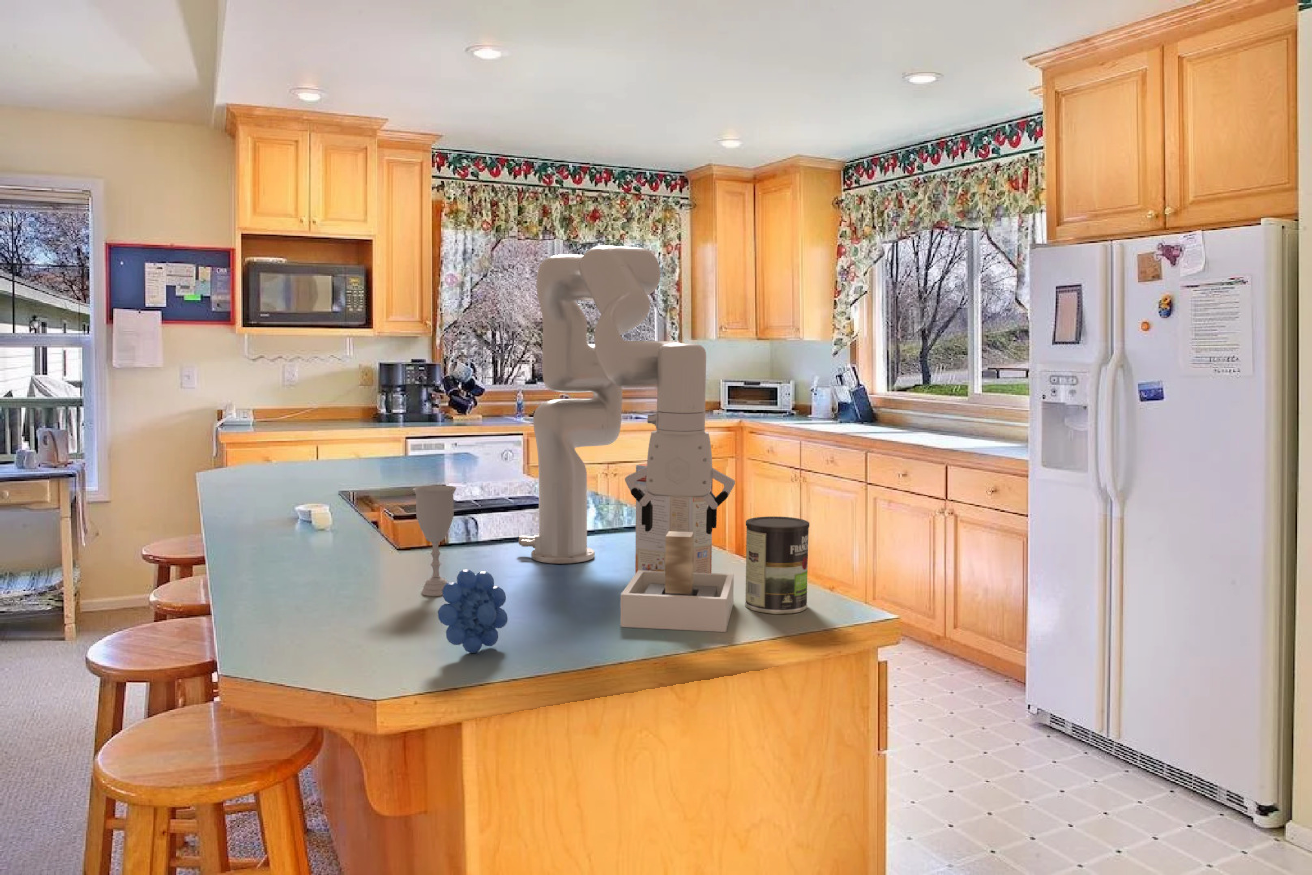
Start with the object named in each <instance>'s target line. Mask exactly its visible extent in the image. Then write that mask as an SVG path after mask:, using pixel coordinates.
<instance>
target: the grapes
mask: <svg viewBox="0 0 1312 875" xmlns="http://www.w3.org/2000/svg"><path fill="white" fill-rule="evenodd" d="M442 593H443V595H442V597H443V600H444V601H445V602H447V603H444V604H442V605H440V607H439V609H438V611H437V616H438V618H437V619H438V621H440V624H443V625H444V626H447V627H446V628H447V629H446V630H445V635H446V636H445V637H446V640H447V641H448V643H450V644H451V645H454V646H460V645H462V647H463V649H464V650H465V651H466V652H468V653H469V654H476V653H478V652H479V651H480V650H481V648H482V646H486V647H493V646H494V645H496V644H497V642H498V640H499V631H498V630H497V629H502V628H504V627H505V626H506V624H508V613H507V612H506V611H505V609H504V608H501V607H502V606H503V605H504V604H505V603H506V601H507V597H506V596H507V595H506V592H505V591H504V589H503V588H501V587H500V586H497V585H496V586H495V579H494V577H493V576H492V574H491V573H490V572H487V571H485V570H481V571H479V572H477V573H476V574H475V572H474V571H472V570H470V569H466V568H465V569H462V570H460V571H459V573H458V574H457V576H456V582H455V581H454V582H453V581H451V582H450V581H448V582H447V584H445V586H444V588H443V590H442Z"/></svg>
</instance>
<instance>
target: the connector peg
mask: <svg viewBox="0 0 1312 875" xmlns="http://www.w3.org/2000/svg"><path fill="white" fill-rule="evenodd" d="M693 553H694V532H676V531H669V532H668V533H667V535H666V540H665V595H681V596H693Z"/></svg>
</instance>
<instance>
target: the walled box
mask: <svg viewBox="0 0 1312 875" xmlns="http://www.w3.org/2000/svg"><path fill="white" fill-rule="evenodd" d="M734 577H735V575H734V573H715V572H714V573H713V572H711V573H693V596H681V595H665V571H643V570H638V571H637V572H636V574H635V573H634V575H633V577H632V578H631V579H630V581H629V582H628V584H627V585H626V587H625V588H624V590H622V591H621V593H620V627H621V628H635V629H636V628H638V629H657V630H658V629H659V630H660V629H662V630H674V631H675V630H678V631H697V632H698V631H700V632H716V633H717V632H718V633H720V632H721V633H726V632H727V629H728V626H729V622H730V618H731V613H732V610H733V606H734V590H735V589H734V585H735V584H734V581H735V579H734Z"/></svg>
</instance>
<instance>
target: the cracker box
mask: <svg viewBox="0 0 1312 875" xmlns="http://www.w3.org/2000/svg"><path fill="white" fill-rule="evenodd" d="M645 467H647V462H646V463H641V464H640V463H639V464H636V465H635V472H637V471H639V470H641V469H643V468H645ZM712 483H714V482H713V481H712ZM636 484H637V486H638V488H639V489H640V490H641V491H642V492H643V493H644V494H646V493H647V490H646V476H645V477H643V478H641V479H639V480H637V481H636ZM711 492H712V493H713V488H712V489H711ZM651 503H652V505H653V523H652V529H651V530H650V531H649V532H647V531H645V525H642V506H641V505H640V503H639V502H638V501H637V500H636V499H635V558H634V559H635V564H634V565H635V573H634V575H635V574H636V572H637V571H638V570H643V571H665V540H666V535H667V533H668V532H669V531H676V532H694V553H693V573H712V562H713V561H712V558H713V557H712V554H713V553H712V552H713V550H712V548H713V546H712V544H713V532H712V533H711V534H707V533H706V516H707V508H708V504H707V502H706V501H705V500H704V499H703V497H699V498H694V497H667V496H654V497H653V498H652V499H651Z"/></svg>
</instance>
